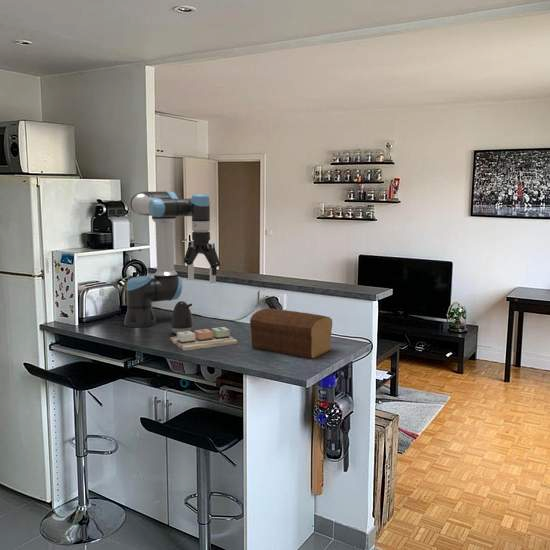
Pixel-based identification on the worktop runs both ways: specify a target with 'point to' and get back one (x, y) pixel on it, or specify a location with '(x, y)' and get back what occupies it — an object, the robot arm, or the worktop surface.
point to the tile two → (203, 334)
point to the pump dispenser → (181, 318)
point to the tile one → (185, 336)
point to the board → (204, 342)
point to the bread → (291, 332)
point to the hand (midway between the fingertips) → (201, 281)
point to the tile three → (221, 332)
